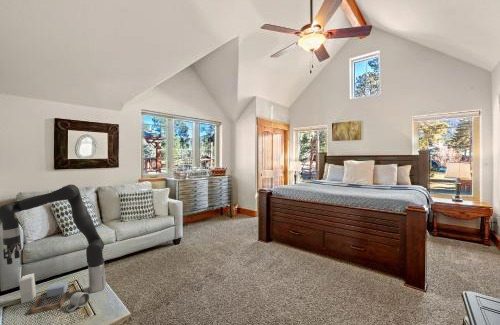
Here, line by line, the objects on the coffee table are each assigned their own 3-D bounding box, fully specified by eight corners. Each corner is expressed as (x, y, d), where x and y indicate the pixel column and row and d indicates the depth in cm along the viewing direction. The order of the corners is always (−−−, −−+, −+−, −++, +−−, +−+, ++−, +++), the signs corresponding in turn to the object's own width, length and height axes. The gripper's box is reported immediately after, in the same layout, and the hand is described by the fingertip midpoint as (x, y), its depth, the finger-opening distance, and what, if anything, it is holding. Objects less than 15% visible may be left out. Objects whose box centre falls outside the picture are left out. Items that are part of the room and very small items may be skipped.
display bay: (67, 295, 153) (67, 291, 153) (60, 307, 141) (60, 303, 141) (39, 301, 147) (38, 297, 147) (29, 314, 135) (28, 310, 135)
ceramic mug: (80, 299, 148) (79, 288, 148) (90, 302, 146) (89, 290, 145) (63, 311, 138) (62, 299, 138) (73, 313, 136) (72, 301, 135)
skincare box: (33, 300, 148) (31, 278, 147) (20, 304, 145) (18, 281, 144) (36, 294, 155) (34, 272, 154) (23, 297, 152) (22, 275, 151)
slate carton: (68, 287, 162) (67, 280, 162) (63, 294, 155) (63, 287, 155) (52, 290, 159) (51, 283, 159) (47, 297, 151) (46, 290, 151)
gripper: (13, 238, 137) (15, 264, 138) (25, 230, 150) (27, 255, 151) (-4, 240, 134) (-2, 267, 135) (9, 232, 147) (12, 257, 148)
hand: (13, 261), depth 143 cm, fingers open, 8 cm apart
